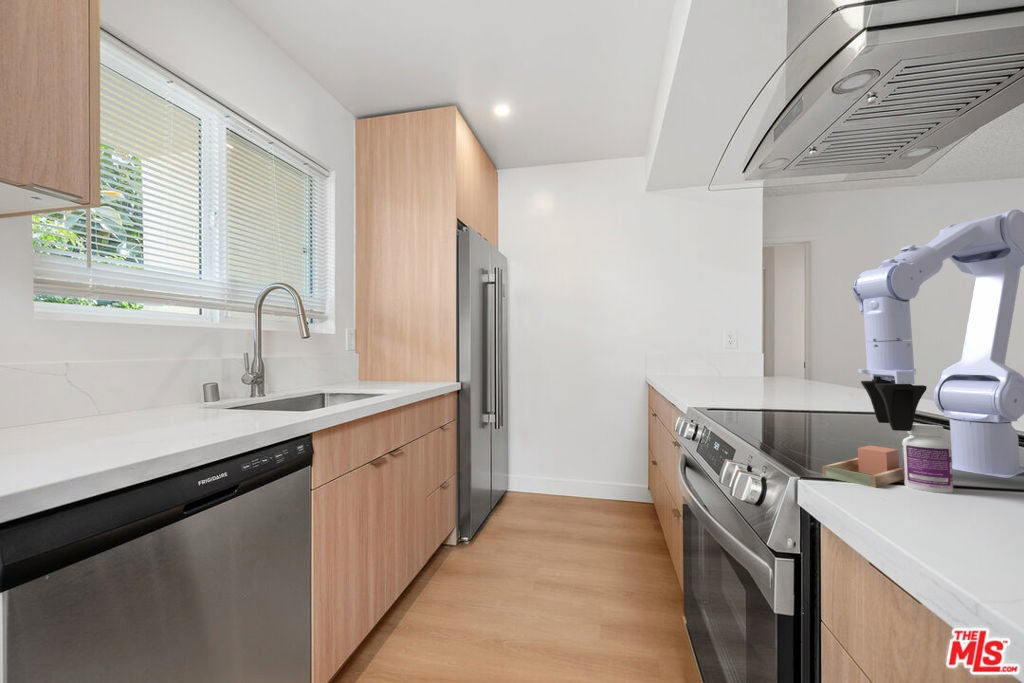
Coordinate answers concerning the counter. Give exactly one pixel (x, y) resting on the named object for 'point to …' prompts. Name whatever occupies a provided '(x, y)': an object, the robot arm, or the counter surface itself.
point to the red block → (877, 459)
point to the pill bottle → (927, 459)
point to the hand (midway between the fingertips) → (893, 426)
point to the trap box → (860, 474)
